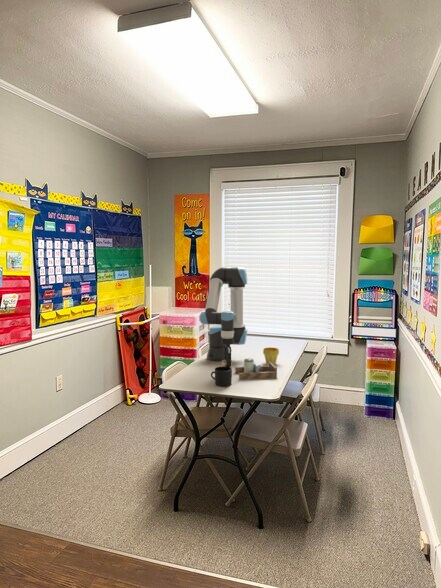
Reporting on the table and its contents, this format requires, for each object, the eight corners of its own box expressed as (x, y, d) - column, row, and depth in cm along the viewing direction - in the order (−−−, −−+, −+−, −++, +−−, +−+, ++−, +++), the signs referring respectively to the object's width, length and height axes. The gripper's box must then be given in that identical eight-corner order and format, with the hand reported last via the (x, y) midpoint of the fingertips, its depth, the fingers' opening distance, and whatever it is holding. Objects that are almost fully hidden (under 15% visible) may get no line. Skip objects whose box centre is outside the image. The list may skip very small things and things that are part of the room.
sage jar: (245, 377, 242) (245, 361, 241) (243, 374, 248) (243, 358, 247) (254, 376, 243) (254, 360, 242) (252, 373, 249) (252, 358, 248)
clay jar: (232, 377, 241) (232, 361, 240) (222, 377, 240) (222, 361, 239) (231, 374, 247) (231, 358, 246) (221, 375, 246) (221, 359, 245)
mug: (213, 380, 235) (213, 365, 234) (233, 382, 231) (233, 367, 231) (208, 385, 226) (208, 369, 226) (228, 387, 222) (228, 371, 222)
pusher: (256, 377, 240) (256, 365, 240) (252, 372, 251) (252, 361, 251) (262, 377, 241) (262, 365, 240) (257, 371, 252) (257, 360, 251)
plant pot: (266, 365, 268) (266, 351, 267) (260, 361, 278) (261, 347, 277) (281, 364, 270) (281, 350, 270) (274, 360, 280) (275, 346, 279)
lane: (239, 379, 237) (239, 369, 237) (235, 372, 251) (235, 363, 251) (276, 377, 240) (276, 367, 240) (270, 371, 255) (270, 361, 254)
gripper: (236, 340, 233) (236, 379, 235) (230, 334, 251) (230, 370, 253) (223, 340, 232) (223, 380, 233) (219, 334, 250) (219, 371, 252)
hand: (227, 375), depth 243 cm, fingers closed on clay jar, 6 cm apart
